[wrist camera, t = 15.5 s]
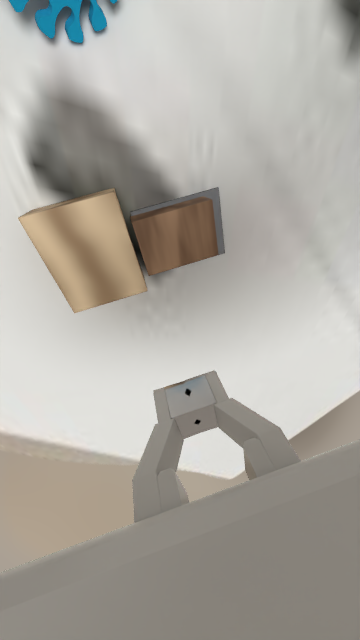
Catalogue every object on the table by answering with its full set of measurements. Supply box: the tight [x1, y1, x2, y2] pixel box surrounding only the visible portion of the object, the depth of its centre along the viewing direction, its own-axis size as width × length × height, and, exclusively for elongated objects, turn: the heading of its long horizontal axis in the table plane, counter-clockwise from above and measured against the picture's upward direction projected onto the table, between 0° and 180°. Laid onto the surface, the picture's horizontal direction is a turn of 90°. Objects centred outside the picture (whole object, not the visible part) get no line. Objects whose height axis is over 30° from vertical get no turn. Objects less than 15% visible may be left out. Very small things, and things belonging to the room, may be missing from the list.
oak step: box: [18, 188, 147, 313], centre depth 29 cm, size 10×12×5 cm
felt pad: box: [130, 187, 225, 255], centre depth 33 cm, size 12×9×1 cm
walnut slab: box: [130, 196, 219, 276], centre depth 31 cm, size 4×7×10 cm
